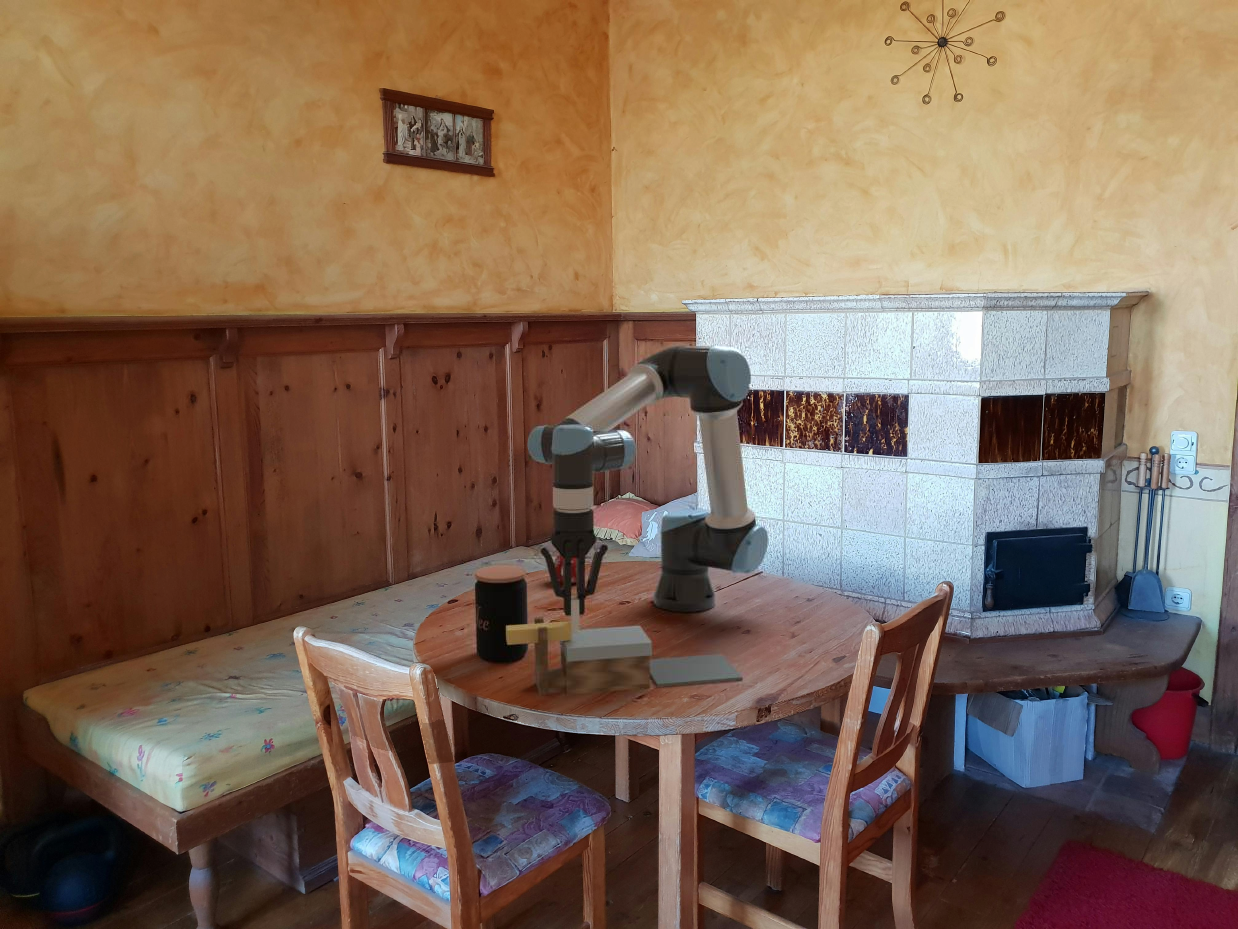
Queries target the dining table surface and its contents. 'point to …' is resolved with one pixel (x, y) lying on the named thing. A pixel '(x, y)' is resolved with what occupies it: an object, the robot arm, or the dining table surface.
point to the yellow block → (530, 632)
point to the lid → (607, 644)
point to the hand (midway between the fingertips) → (574, 631)
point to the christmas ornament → (559, 569)
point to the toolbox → (587, 671)
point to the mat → (692, 670)
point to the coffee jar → (499, 611)
